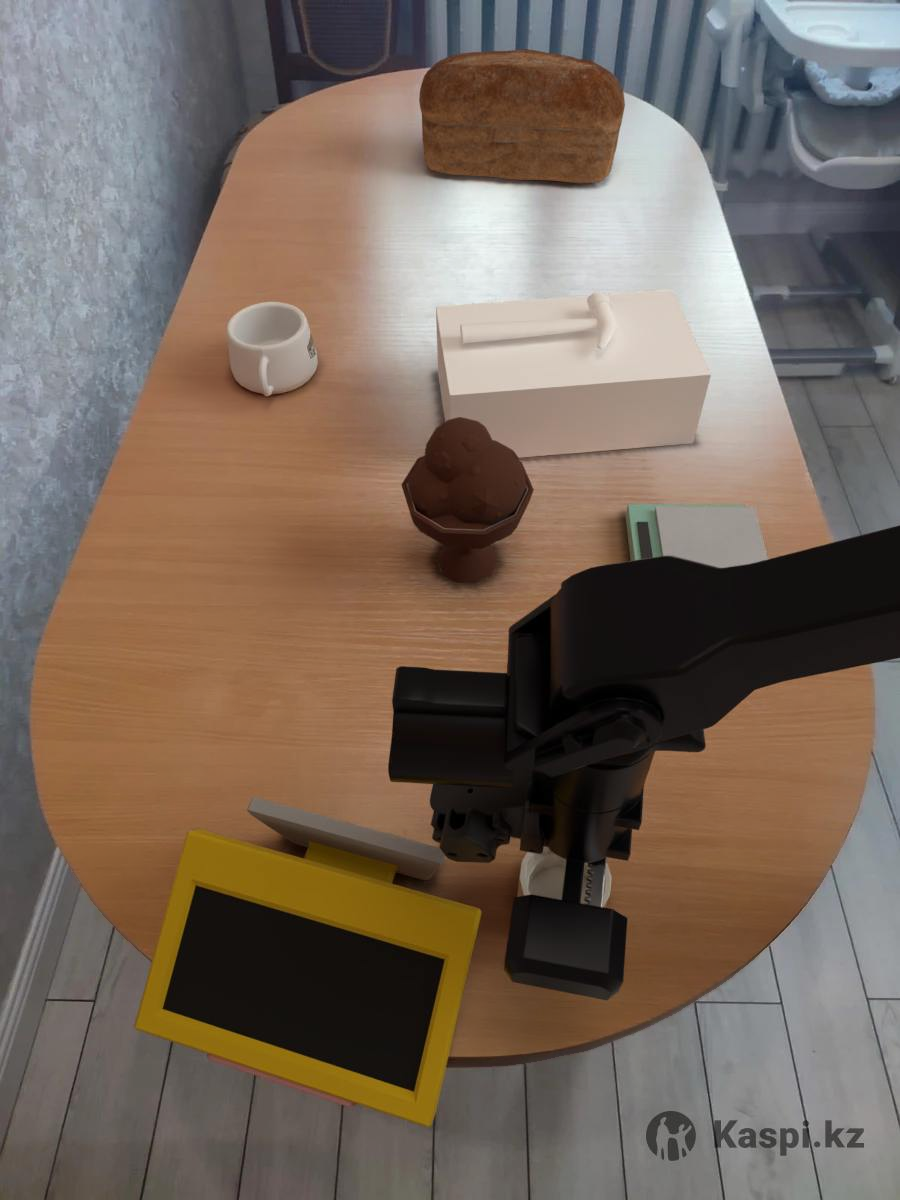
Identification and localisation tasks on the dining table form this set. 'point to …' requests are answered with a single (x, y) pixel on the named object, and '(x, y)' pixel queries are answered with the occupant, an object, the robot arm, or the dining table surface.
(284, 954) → the yellow framed monitor
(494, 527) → the ice cream bowl
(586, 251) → the dining table surface
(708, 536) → the kitchen scale
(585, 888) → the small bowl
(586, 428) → the hammer topped box
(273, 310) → the mug
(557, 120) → the bread
